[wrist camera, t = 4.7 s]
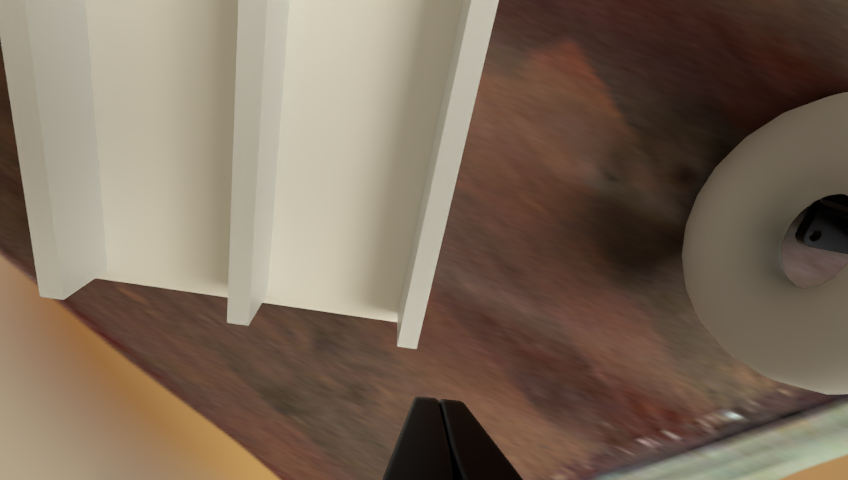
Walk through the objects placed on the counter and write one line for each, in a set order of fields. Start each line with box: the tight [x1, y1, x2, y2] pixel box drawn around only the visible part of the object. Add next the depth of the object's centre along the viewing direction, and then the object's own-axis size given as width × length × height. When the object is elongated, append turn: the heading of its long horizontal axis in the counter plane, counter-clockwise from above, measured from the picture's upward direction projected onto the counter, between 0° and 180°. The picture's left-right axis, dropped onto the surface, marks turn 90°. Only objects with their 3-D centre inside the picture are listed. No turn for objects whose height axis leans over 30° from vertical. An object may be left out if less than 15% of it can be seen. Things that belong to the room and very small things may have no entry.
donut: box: [682, 92, 848, 395], centre depth 14 cm, size 10×4×10 cm, turn 166°
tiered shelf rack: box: [0, 0, 499, 349], centre depth 15 cm, size 14×17×4 cm
